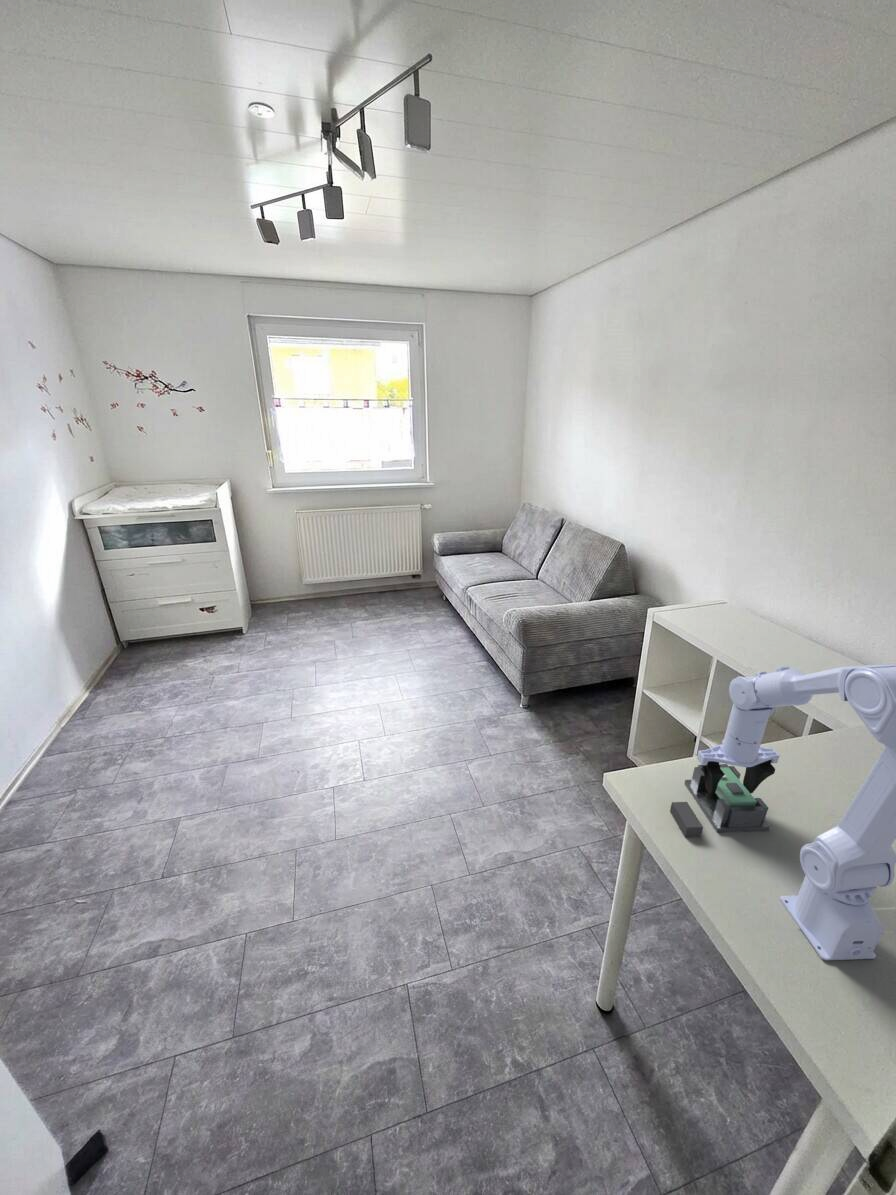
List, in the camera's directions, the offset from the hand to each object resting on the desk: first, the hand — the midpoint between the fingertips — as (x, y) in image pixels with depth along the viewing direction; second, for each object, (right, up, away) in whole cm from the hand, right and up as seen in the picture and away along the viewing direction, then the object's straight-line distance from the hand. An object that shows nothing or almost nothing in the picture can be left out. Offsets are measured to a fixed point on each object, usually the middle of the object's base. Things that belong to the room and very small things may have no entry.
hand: (728, 790), depth 93 cm
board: (0, 0, 0) cm, 1 cm away
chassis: (0, -4, +1) cm, 4 cm away
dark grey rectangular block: (-10, -5, -2) cm, 11 cm away
